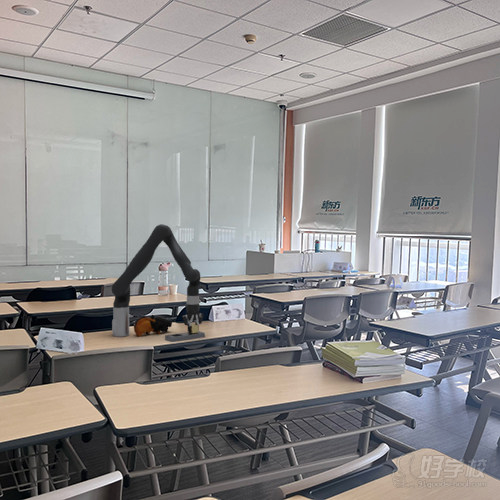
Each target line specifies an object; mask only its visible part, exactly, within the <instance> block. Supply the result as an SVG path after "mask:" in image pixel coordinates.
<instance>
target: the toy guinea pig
mask: <svg viewBox="0 0 500 500" xmlns="http://www.w3.org/2000/svg"><path fill="white" fill-rule="evenodd" d="M172 325H173V321H171V319H166V318H164V317H160V316H157V317H155V315H153V314H151V316H150V317H148V316H145V315H143V316H141V317H140V318H137V319H136V321H135V323H134V325H133V332H134V334H135V335H136V337H139V338H141V337H142V335H144V334H145V335H149V334H151V333H155V334H158V335H161V332H163V333H168V330H169V328H171V327H172Z"/></svg>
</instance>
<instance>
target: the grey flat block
mask: <svg viewBox="0 0 500 500" xmlns="http://www.w3.org/2000/svg"><path fill="white" fill-rule="evenodd" d="M205 337H206V334H205V332H204V331H200V330H198V333H189V332H188V331H187V332H186V331H185V332H180V333H173V334H165V335H164V340H165V341H168V342H170V343H175V342H182V341H188V340H193V339H194V340H195V339H201V338H205Z"/></svg>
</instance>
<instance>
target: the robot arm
mask: <svg viewBox="0 0 500 500" xmlns="http://www.w3.org/2000/svg"><path fill="white" fill-rule="evenodd" d="M162 242H163V243H164V244H165V245H166V246H167V248H168V249H169V251H170V253H171V255H172V257H173V259H174V261H175V263H176V264H177V265H178V266H179V268H180V270H181V272H182V274H183V277H185V279H186V280H187V281H188V286H187V288H186V314H185V315H182V316H181V317H182V321H183V324H184V325H185V326H187V332H189V333H191V324H193V321H194V324H197V325H198V331H200V330H199V327H200V326H199V325H202V323H203V319H204V315H205V314H204V313H201V312H200V283H201V272H200V271H199V270H198V269H195V268H193V266H192V262H191V260H190V259H189V257H188V256H187V254H186V253H185V252H184V250H183V248H182V247H181V245H179V243H178V240H177V239H176V237H175V235H174V233H173V230H172V229H171V227H170V226H168V225H165V224H158V225H156V226H155V227H154V228H153V230H152V232H151V234H150V236H148V239H147V240H146V241H145V243H144V244H143V245H142V247H140V249H139V250H138V251H137V253H136V254H135V255H134V257H133V258H132V259H131V261H130V262H129V264H128V265H127V266H126V268H125V270H124V271H123V273H122V274H121V275H120V276H119V277H118V278H117V279H116V281H114V283H112V285H111V292H112V294H113V295H114V299H113V300H114V301H113V303H112V305H113V309H112V310H113V313H112V314H113V319H112V321H111V325H112V326H111V328H112V329H111V330H112V333H111V335H112V336H113V337H116V338H117V337H127V336H130V301H131V284H132V282H133V281H134V280H135V279H136V278H137V277H138V276H139V275H140V274H141V273H142V272H143V271H145V269H146V268H147V267H148V265H149V264H150V263H151V261H152V259H153V257H154V254H155V251H156V250H157V248H158V247H159V245H161V244H162Z"/></svg>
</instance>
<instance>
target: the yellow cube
mask: <svg viewBox="0 0 500 500" xmlns="http://www.w3.org/2000/svg"><path fill="white" fill-rule="evenodd" d="M198 331H199V330H198V325H197V324H195V323H191V333H198Z"/></svg>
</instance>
